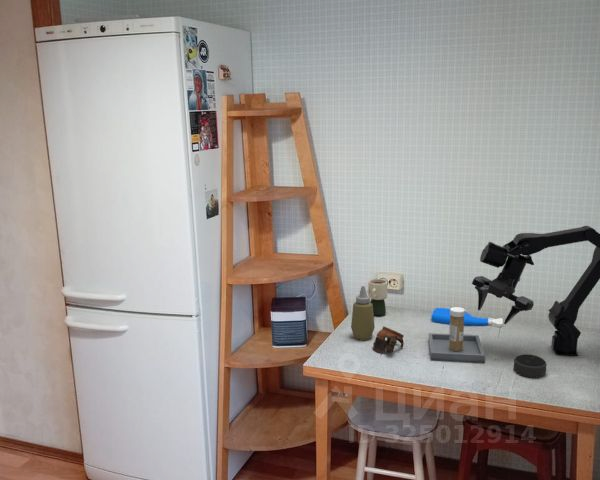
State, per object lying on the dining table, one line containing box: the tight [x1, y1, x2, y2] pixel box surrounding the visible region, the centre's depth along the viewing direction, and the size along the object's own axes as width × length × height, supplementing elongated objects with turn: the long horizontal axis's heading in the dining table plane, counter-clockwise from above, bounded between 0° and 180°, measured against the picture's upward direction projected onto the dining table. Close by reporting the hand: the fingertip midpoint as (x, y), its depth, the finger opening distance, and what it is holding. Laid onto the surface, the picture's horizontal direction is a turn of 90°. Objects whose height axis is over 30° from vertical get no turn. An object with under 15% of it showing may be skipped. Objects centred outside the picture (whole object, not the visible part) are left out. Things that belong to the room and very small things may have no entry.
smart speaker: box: [513, 353, 548, 378], centre depth 172 cm, size 9×9×4 cm
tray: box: [428, 332, 486, 364], centre depth 187 cm, size 16×16×2 cm
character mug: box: [367, 278, 389, 316], centre depth 220 cm, size 11×7×13 cm, turn 153°
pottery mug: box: [372, 326, 405, 355], centre depth 188 cm, size 12×10×8 cm
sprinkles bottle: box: [448, 306, 466, 351], centre depth 186 cm, size 5×5×14 cm
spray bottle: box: [430, 307, 504, 329], centre depth 212 cm, size 3×11×24 cm
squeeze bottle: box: [350, 285, 376, 341], centre depth 198 cm, size 8×8×18 cm
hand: (491, 316), depth 186 cm, fingers open, 9 cm apart
